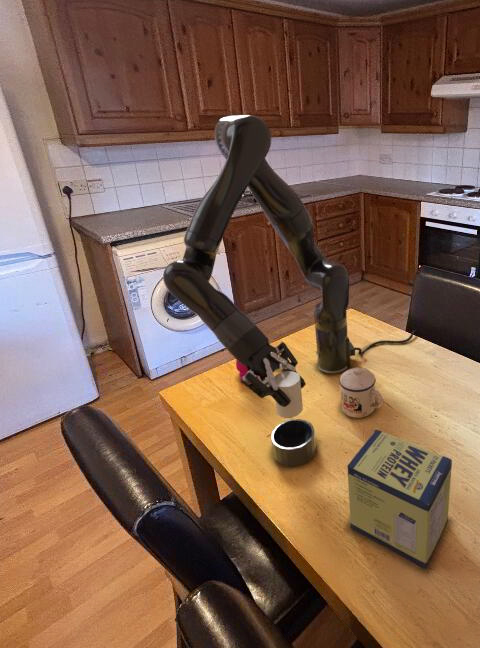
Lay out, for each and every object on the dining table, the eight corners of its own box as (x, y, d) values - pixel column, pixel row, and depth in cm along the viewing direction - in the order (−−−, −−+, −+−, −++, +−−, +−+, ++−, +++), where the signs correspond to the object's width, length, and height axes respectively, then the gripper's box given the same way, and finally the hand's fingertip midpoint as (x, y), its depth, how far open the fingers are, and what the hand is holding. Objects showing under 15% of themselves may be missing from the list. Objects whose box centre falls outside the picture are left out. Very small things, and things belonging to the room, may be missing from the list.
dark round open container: (310, 431, 100) (309, 415, 98) (319, 460, 91) (318, 442, 90) (271, 441, 97) (269, 424, 95) (276, 471, 89) (274, 454, 87)
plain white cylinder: (300, 398, 93) (297, 368, 90) (305, 414, 88) (302, 383, 85) (274, 404, 91) (271, 374, 88) (278, 420, 86) (274, 389, 83)
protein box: (376, 487, 85) (375, 427, 79) (448, 521, 77) (454, 458, 71) (348, 528, 76) (345, 465, 70) (426, 571, 69) (430, 505, 63)
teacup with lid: (333, 410, 107) (331, 372, 102) (354, 391, 113) (353, 355, 109) (371, 428, 100) (371, 389, 96) (392, 408, 107) (392, 370, 102)
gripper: (227, 344, 78) (287, 409, 79) (269, 312, 91) (321, 369, 92) (209, 363, 82) (267, 424, 83) (252, 329, 95) (302, 383, 95)
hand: (295, 395), depth 87 cm, fingers closed on plain white cylinder, 5 cm apart
